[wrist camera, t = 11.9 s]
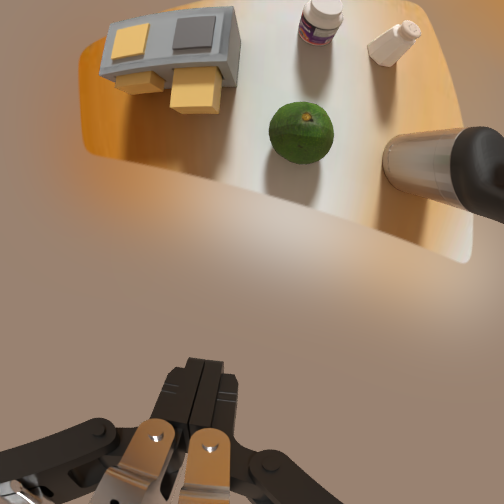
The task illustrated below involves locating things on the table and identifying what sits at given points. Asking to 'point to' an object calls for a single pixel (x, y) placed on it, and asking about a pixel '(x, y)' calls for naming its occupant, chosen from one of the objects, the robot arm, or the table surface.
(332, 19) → the pill bottle
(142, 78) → the button
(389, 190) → the table surface
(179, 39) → the console
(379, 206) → the table surface
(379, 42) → the pepper shaker
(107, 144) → the table surface
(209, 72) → the button
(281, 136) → the fruit
